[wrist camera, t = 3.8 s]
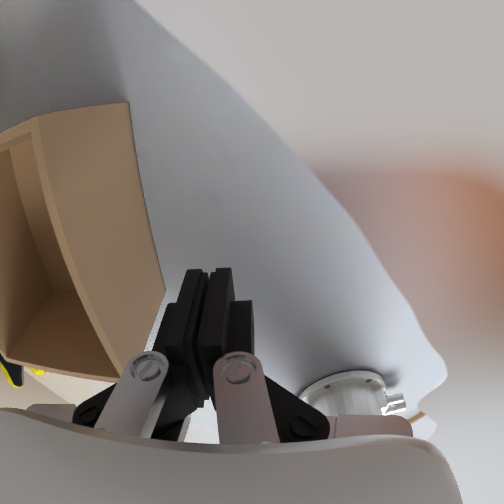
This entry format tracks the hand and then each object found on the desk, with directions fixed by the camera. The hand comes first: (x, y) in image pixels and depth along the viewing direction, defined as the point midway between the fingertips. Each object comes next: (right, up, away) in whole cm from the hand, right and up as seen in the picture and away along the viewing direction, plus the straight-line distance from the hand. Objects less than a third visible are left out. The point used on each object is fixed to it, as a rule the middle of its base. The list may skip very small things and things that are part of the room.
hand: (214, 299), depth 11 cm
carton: (-14, +5, +12) cm, 19 cm away
